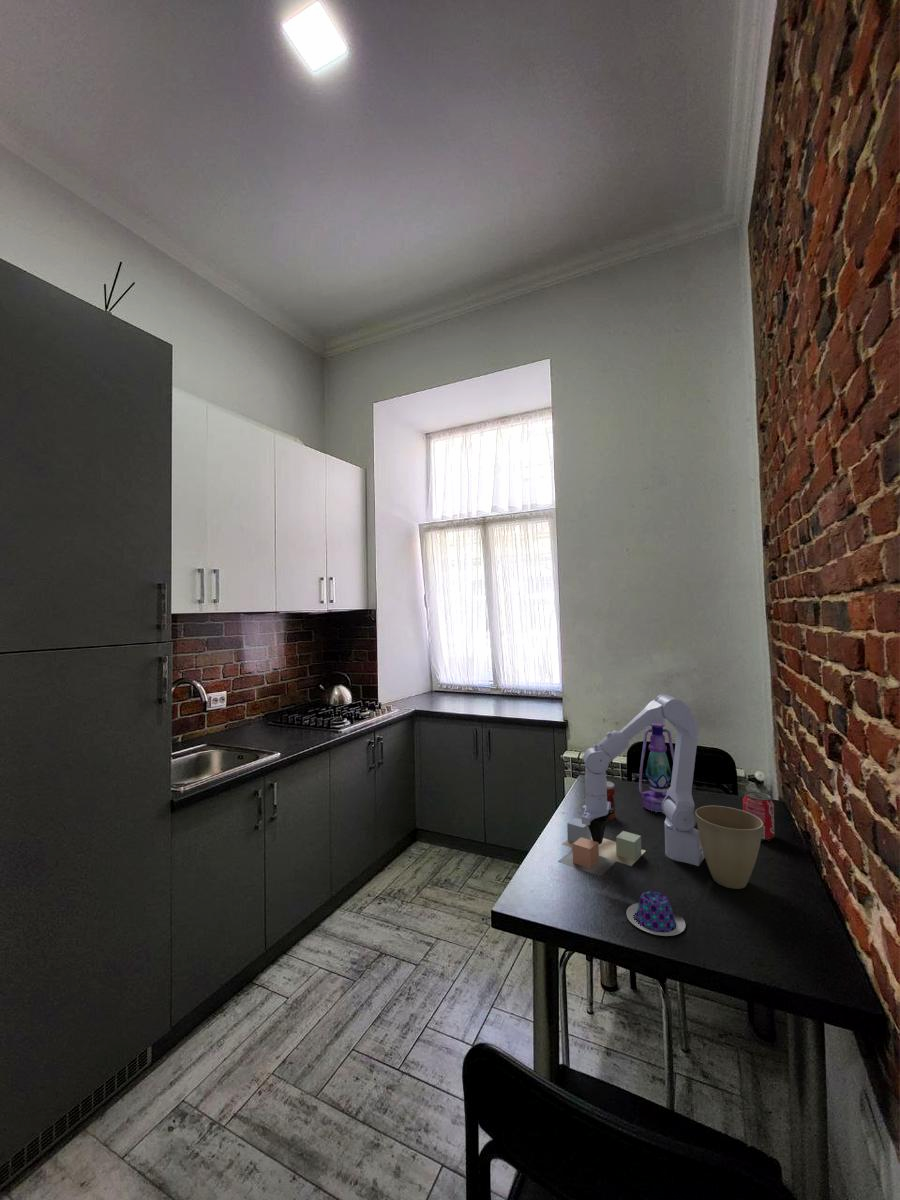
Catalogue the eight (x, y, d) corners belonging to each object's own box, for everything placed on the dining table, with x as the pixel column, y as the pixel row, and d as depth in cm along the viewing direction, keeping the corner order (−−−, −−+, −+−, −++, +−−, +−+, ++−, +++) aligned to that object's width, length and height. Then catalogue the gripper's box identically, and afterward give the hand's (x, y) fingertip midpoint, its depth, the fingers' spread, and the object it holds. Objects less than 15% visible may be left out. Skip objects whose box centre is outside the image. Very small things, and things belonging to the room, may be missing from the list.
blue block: (591, 839, 146) (590, 822, 146) (583, 845, 142) (583, 827, 142) (575, 834, 149) (575, 817, 149) (567, 840, 145) (567, 823, 146)
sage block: (641, 854, 137) (640, 835, 137) (634, 861, 133) (634, 842, 133) (623, 848, 140) (623, 830, 140) (616, 855, 136) (616, 837, 136)
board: (646, 854, 139) (645, 850, 139) (616, 885, 123) (616, 881, 123) (579, 834, 152) (579, 831, 152) (544, 860, 136) (544, 856, 136)
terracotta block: (598, 861, 133) (598, 842, 133) (590, 868, 129) (590, 849, 129) (581, 855, 136) (581, 837, 136) (573, 862, 132) (572, 843, 133)
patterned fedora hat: (614, 915, 111) (614, 891, 111) (650, 900, 117) (650, 877, 117) (660, 946, 101) (660, 920, 101) (697, 927, 107) (697, 902, 107)
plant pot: (729, 902, 115) (727, 832, 116) (683, 871, 129) (682, 809, 130) (780, 892, 119) (778, 824, 120) (730, 862, 133) (728, 802, 134)
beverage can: (765, 830, 153) (764, 791, 153) (780, 842, 145) (779, 800, 145) (738, 829, 154) (737, 790, 154) (751, 841, 146) (750, 800, 146)
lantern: (645, 815, 166) (643, 724, 167) (634, 802, 177) (632, 717, 178) (686, 815, 165) (683, 724, 166) (671, 802, 177) (669, 717, 178)
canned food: (610, 823, 159) (609, 789, 159) (586, 817, 164) (585, 784, 164) (618, 815, 165) (617, 782, 166) (595, 810, 170) (594, 777, 170)
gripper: (593, 783, 147) (595, 829, 146) (570, 797, 136) (572, 847, 135) (617, 788, 142) (618, 836, 142) (595, 803, 131) (596, 855, 131)
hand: (597, 842), depth 138 cm, fingers closed
